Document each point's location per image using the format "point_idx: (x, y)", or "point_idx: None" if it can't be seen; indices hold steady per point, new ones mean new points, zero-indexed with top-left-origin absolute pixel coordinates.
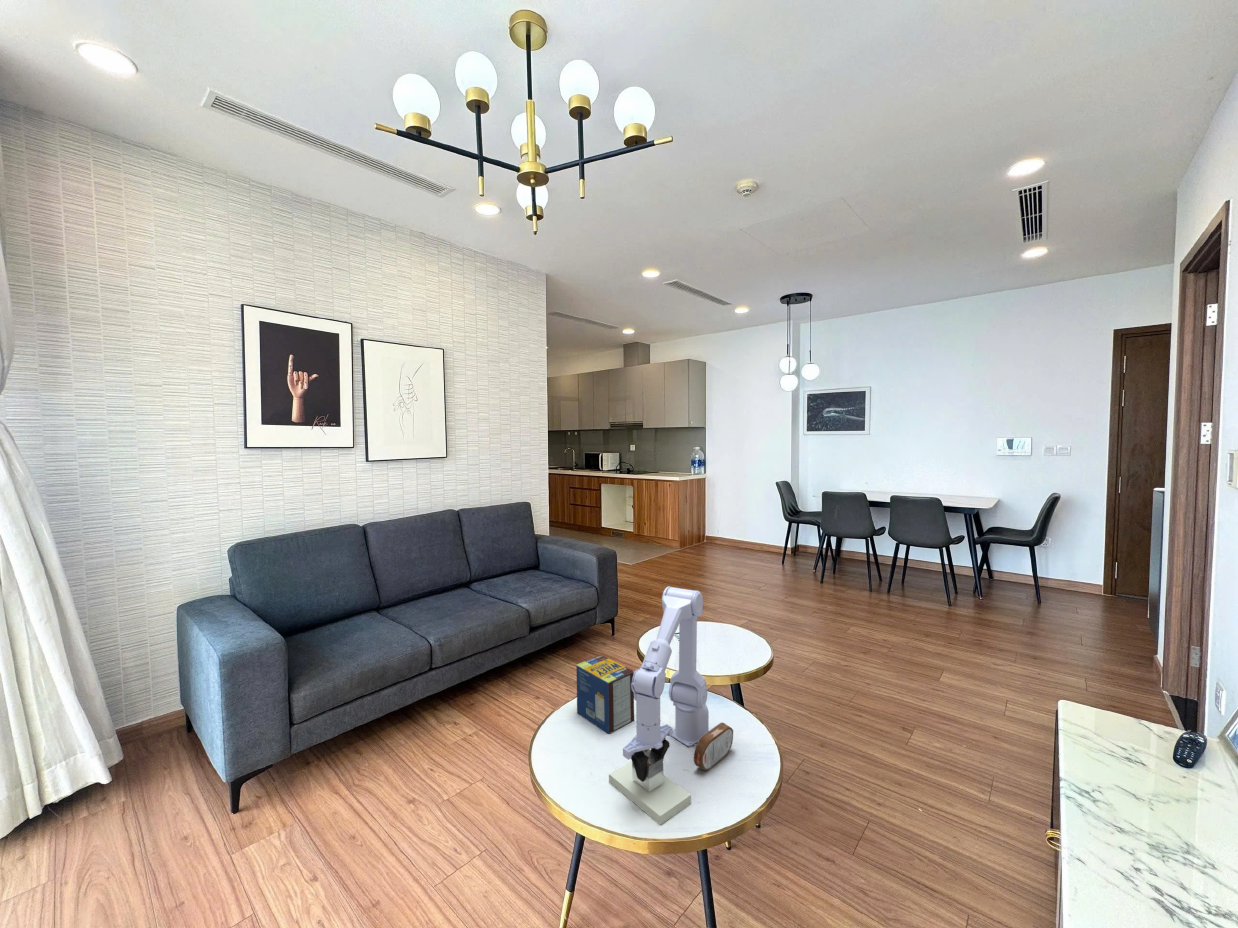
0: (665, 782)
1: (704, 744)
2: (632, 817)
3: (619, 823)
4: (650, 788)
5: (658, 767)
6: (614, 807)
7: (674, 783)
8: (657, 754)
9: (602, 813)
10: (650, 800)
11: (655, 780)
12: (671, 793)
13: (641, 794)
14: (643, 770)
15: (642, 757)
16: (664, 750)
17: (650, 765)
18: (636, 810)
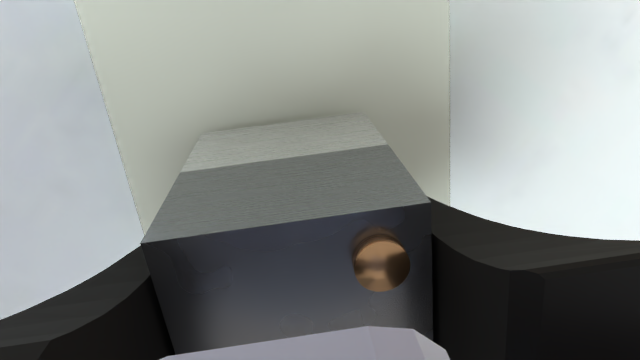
0: (171, 143)
1: None
2: (521, 48)
3: (613, 53)
4: (354, 117)
5: (245, 188)
6: (543, 177)
7: (109, 94)
8: (166, 337)
9: (623, 175)
10: (394, 47)
11: (296, 138)
12: (199, 12)
13: (406, 139)
14: (461, 215)
15: (631, 322)
16: (53, 322)
17: (398, 207)
18: (461, 84)
